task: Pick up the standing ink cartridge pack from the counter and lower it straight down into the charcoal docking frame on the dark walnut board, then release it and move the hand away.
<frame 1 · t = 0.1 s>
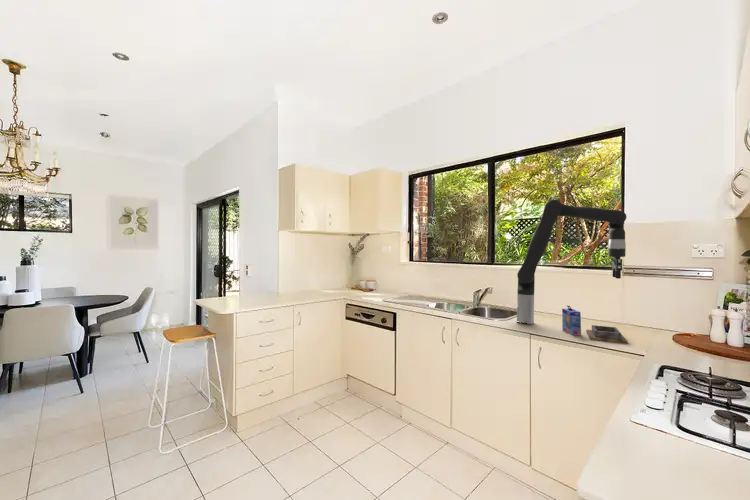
hand: (616, 277, 181), 29 cm above the worktop, tool pointing down, fingers open, 8 cm apart
docking frame: (605, 337, 170), on the worktop
ink cartridge box: (571, 333, 178), on the worktop
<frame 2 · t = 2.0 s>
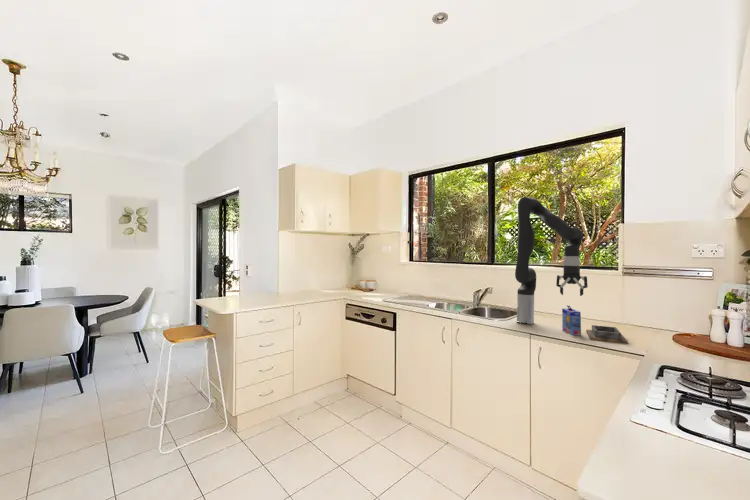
hand: (571, 295, 178), 20 cm above the worktop, tool pointing down, fingers open, 8 cm apart
nothing on the worktop moved.
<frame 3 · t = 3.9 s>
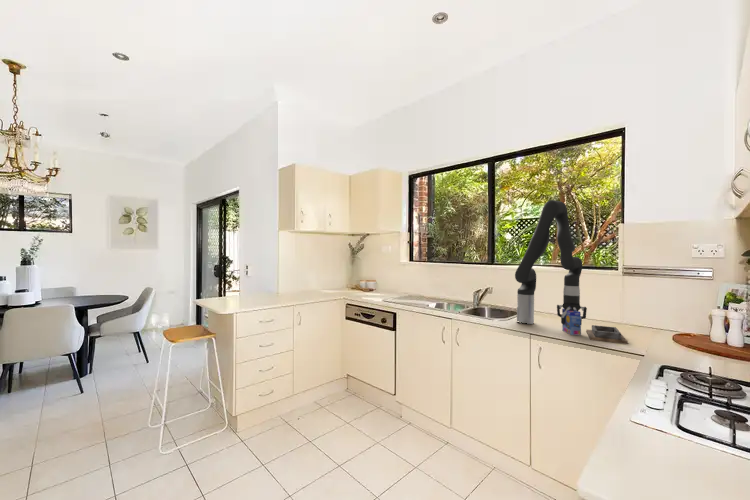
hand: (571, 325, 178), 4 cm above the worktop, tool pointing down, fingers closed on ink cartridge box, 6 cm apart
ink cartridge box: (571, 333, 178), on the worktop, touching gripper
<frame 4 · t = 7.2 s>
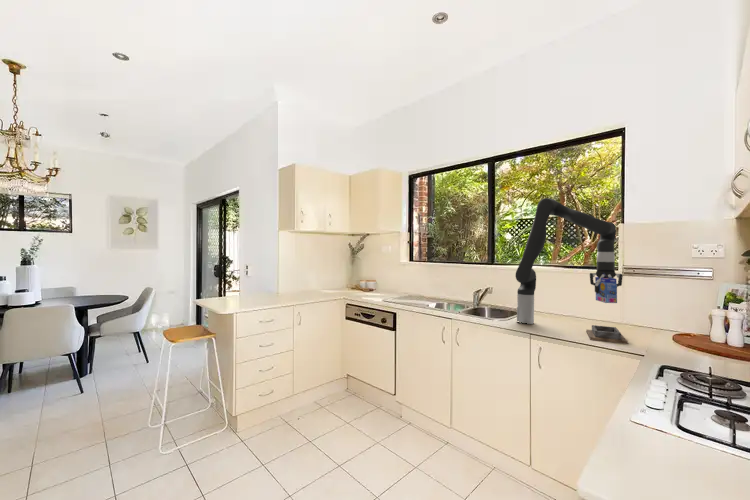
hand: (605, 293, 169), 22 cm above the worktop, tool pointing down, fingers closed on ink cartridge box, 6 cm apart
ink cartridge box: (605, 302, 169), point 18 cm above the worktop, touching gripper
when the fingers open (7 cm above the worktop, at t = 10.2 s): ink cartridge box drops 1 cm, resting on docking frame.
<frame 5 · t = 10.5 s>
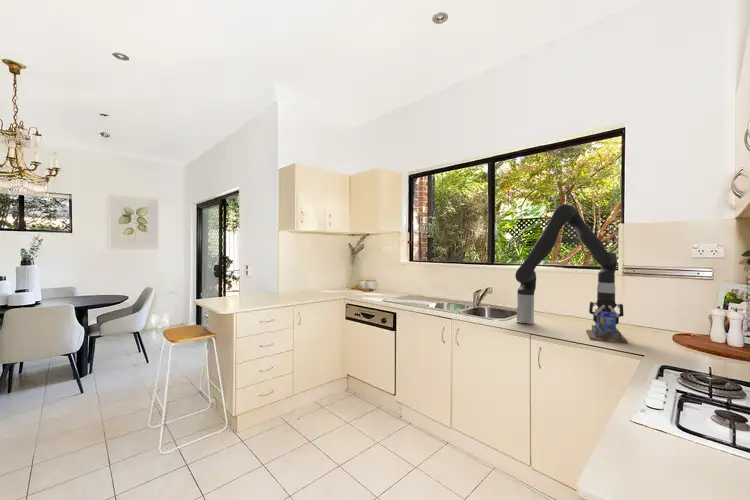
hand: (605, 323, 170), 7 cm above the worktop, tool pointing down, fingers open, 8 cm apart
ink cartridge box: (605, 335, 170), point 1 cm above the worktop, touching docking frame
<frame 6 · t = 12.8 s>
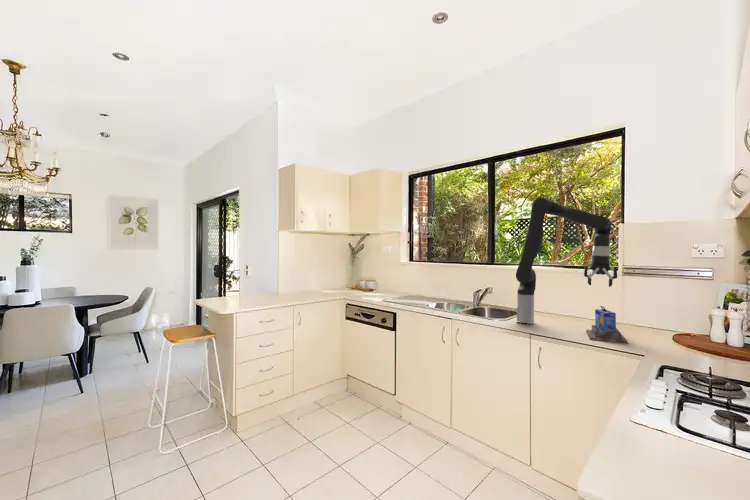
hand: (599, 285, 175), 25 cm above the worktop, tool pointing down, fingers open, 8 cm apart
nothing on the worktop moved.
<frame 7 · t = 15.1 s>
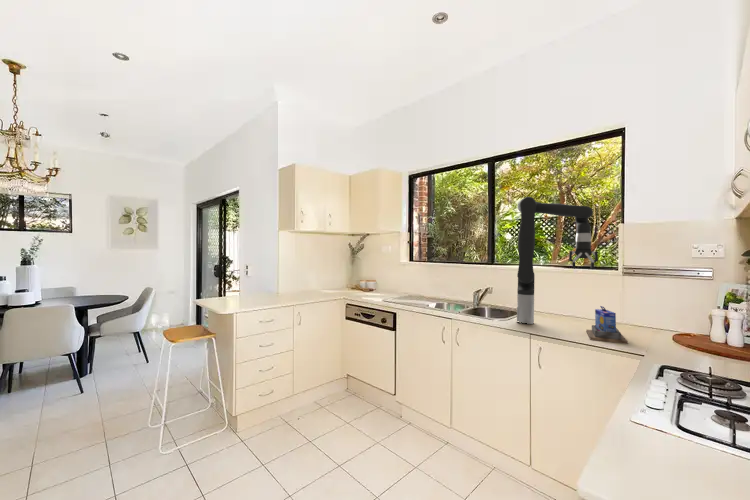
hand: (583, 268, 195), 33 cm above the worktop, tool pointing down, fingers open, 8 cm apart
nothing on the worktop moved.
at the end: ink cartridge box 0.3 cm off-centre on the docking frame, point 1.0 cm above the docking frame's base; ink cartridge box tilted 0°; the gripper is holding nothing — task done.
